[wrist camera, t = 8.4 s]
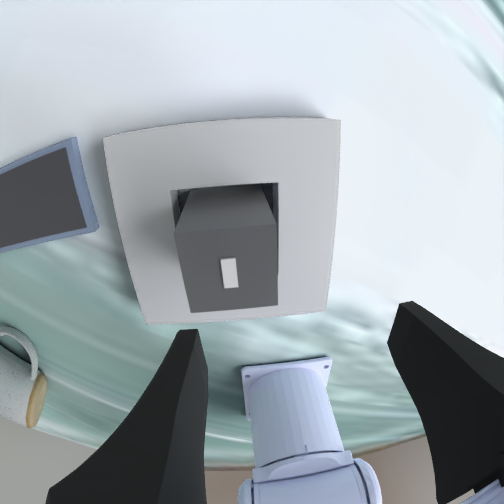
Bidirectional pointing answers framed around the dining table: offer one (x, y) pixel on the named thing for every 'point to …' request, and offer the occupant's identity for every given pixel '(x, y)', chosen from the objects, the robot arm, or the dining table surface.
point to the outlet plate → (220, 174)
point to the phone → (45, 198)
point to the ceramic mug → (21, 383)
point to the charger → (228, 249)
